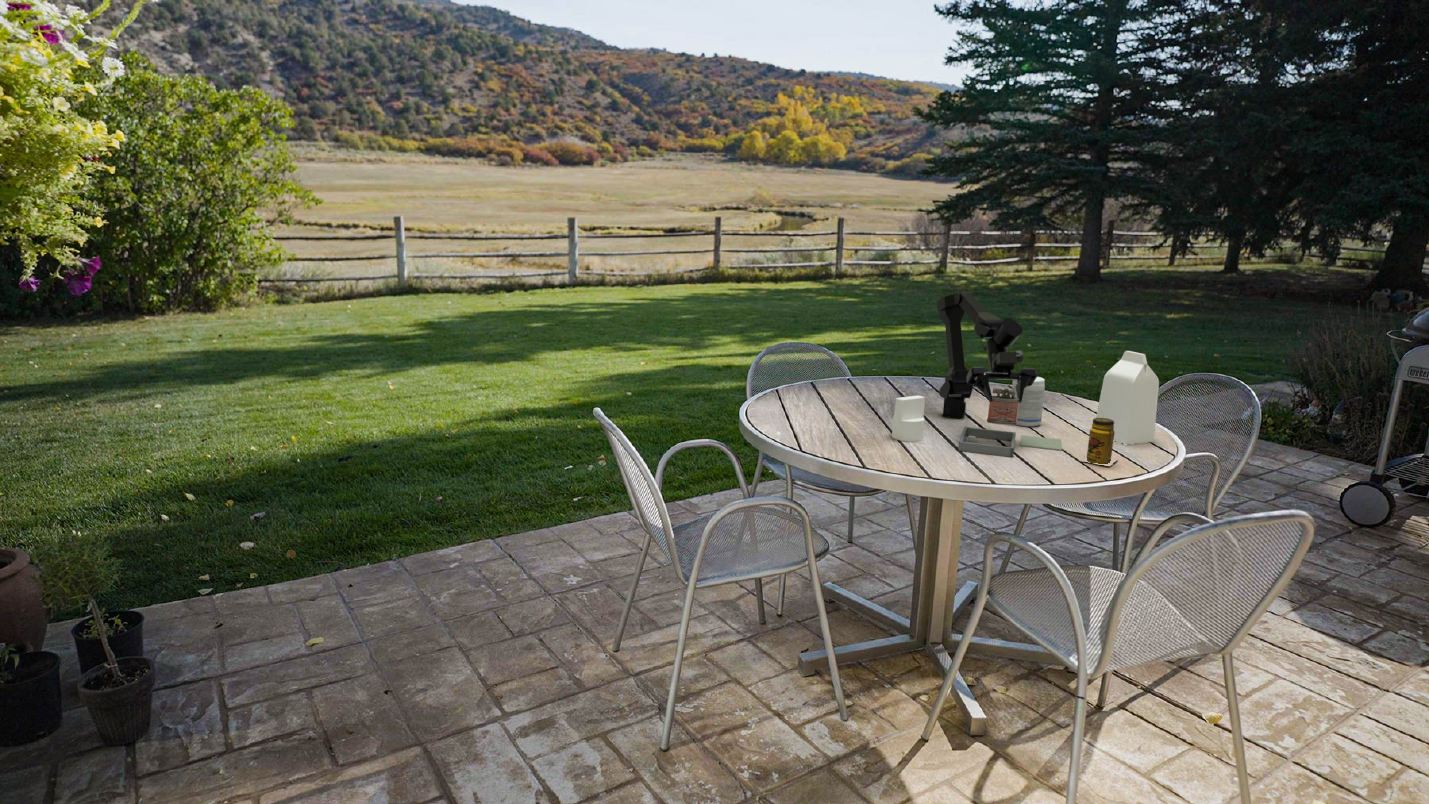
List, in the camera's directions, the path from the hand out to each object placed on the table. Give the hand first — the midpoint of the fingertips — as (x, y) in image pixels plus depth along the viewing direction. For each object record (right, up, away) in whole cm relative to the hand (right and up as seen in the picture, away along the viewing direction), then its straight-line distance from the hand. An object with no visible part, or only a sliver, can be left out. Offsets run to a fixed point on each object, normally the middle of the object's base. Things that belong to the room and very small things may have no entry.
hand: (1005, 401), depth 238 cm
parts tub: (-4, -13, +4) cm, 14 cm away
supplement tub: (+16, -7, +29) cm, 34 cm away
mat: (+13, -12, +7) cm, 19 cm away
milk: (+40, -11, +15) cm, 44 cm away
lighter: (0, -6, +3) cm, 7 cm away
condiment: (+23, -17, -9) cm, 29 cm away
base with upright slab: (-25, -11, +11) cm, 30 cm away
